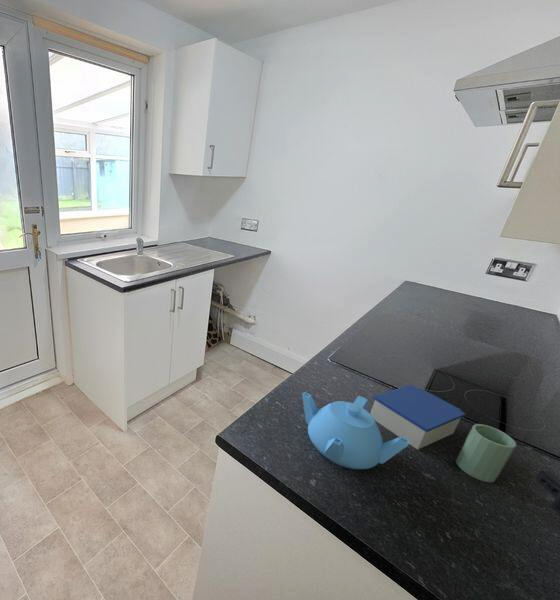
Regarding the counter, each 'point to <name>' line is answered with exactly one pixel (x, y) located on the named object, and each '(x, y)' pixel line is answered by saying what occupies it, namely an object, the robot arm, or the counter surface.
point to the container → (416, 415)
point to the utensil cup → (485, 452)
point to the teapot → (348, 434)
